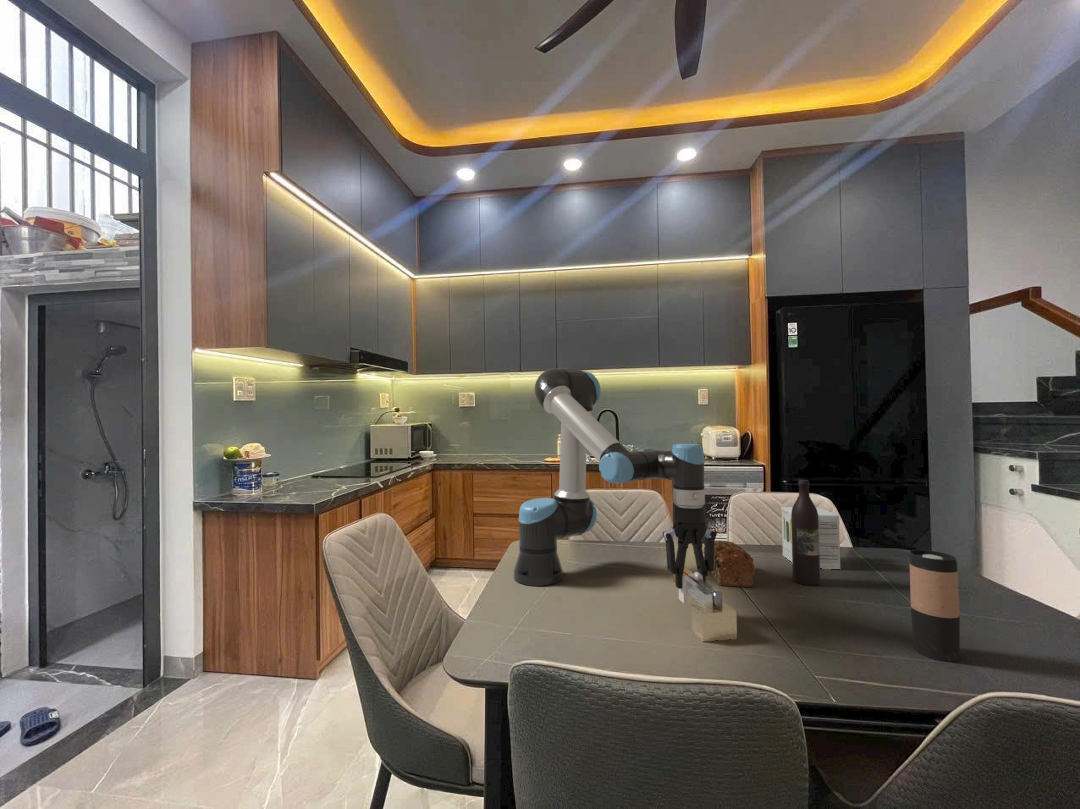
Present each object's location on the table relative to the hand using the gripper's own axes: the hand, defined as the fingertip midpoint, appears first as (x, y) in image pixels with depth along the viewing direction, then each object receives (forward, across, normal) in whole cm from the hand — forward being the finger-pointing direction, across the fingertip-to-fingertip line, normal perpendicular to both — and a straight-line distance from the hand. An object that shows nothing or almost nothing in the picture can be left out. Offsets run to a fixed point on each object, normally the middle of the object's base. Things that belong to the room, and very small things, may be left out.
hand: (690, 600), depth 113 cm
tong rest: (+3, 0, -4) cm, 5 cm away
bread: (+4, +24, +24) cm, 34 cm away
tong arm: (-3, +1, -3) cm, 4 cm away
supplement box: (+3, +58, +32) cm, 66 cm away
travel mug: (+4, +41, -25) cm, 48 cm away
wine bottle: (+3, +44, +16) cm, 47 cm away
